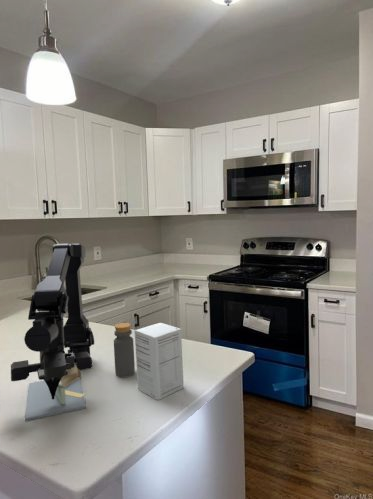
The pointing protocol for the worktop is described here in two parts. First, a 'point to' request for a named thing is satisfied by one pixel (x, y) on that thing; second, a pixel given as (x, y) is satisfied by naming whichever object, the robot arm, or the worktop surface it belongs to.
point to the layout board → (53, 400)
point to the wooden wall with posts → (71, 375)
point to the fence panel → (61, 393)
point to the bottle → (124, 351)
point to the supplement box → (159, 360)
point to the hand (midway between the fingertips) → (53, 398)
